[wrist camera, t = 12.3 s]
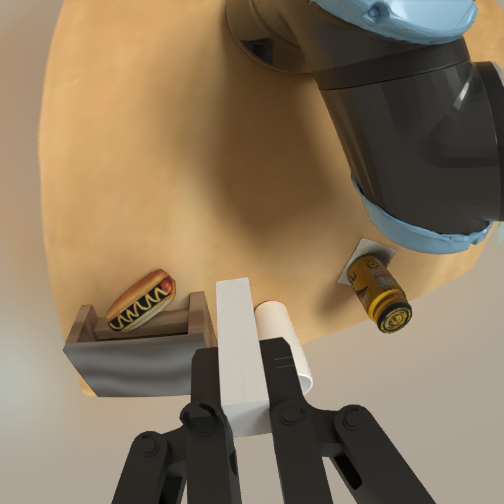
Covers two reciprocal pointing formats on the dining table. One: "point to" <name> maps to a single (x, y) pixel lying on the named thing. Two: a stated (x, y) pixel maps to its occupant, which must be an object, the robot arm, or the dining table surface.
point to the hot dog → (141, 301)
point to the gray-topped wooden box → (140, 351)
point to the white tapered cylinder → (279, 325)
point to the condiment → (377, 286)
